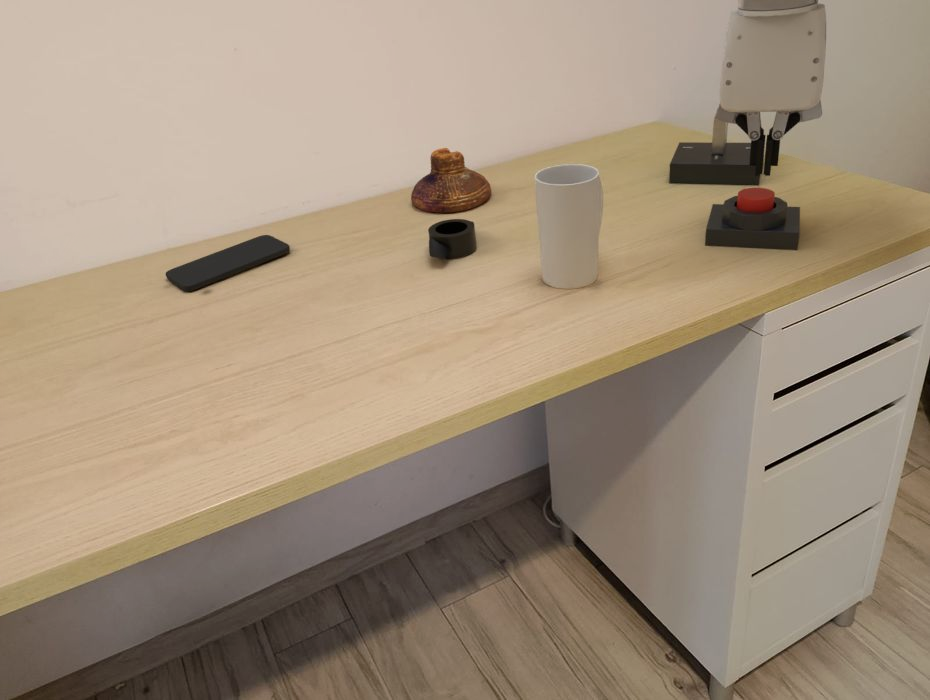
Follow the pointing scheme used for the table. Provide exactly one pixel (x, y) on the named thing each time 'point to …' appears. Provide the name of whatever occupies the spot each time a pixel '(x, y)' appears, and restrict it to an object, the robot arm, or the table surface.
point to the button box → (753, 226)
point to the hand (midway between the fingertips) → (763, 171)
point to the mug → (569, 224)
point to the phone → (226, 262)
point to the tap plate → (712, 165)
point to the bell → (450, 185)
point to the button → (755, 200)
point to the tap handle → (719, 136)
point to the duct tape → (452, 239)
